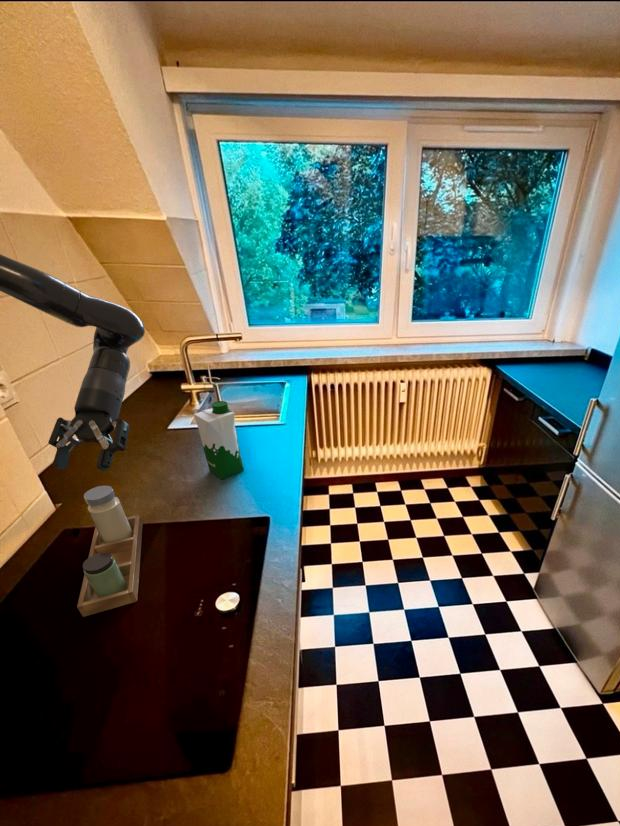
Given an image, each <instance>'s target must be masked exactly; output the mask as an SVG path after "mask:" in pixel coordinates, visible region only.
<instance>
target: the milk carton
mask: <svg viewBox="0 0 620 826" xmlns="http://www.w3.org/2000/svg"><path fill="white" fill-rule="evenodd" d="M235 413H236V412H234V411H232V410H231V409H230V408H229V404H228V402H227V401H225V400H219V401H214V402H213V403H211V408H207V409H203V410H202V411H199V412H196V413H193V416H194V419H195V422H196V423H195V424H196V426H197V430H198V432H199V436H200V441H201V444H202V448H203V452H204V455H205V460H206V463H207V466H208V470H209V472H211V473H212V474H213V475H215V476H216V477H217V478H219V479H220V480H225V479H227V478H230V477H231V476H234V475H236V474H238V473H240V472H242V471H245V468H244V464H243V460H242V454H241V451H240V446H239V439H238V435H237V430H236V422H235V421H236V419H235V417H236V415H235Z"/></svg>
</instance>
